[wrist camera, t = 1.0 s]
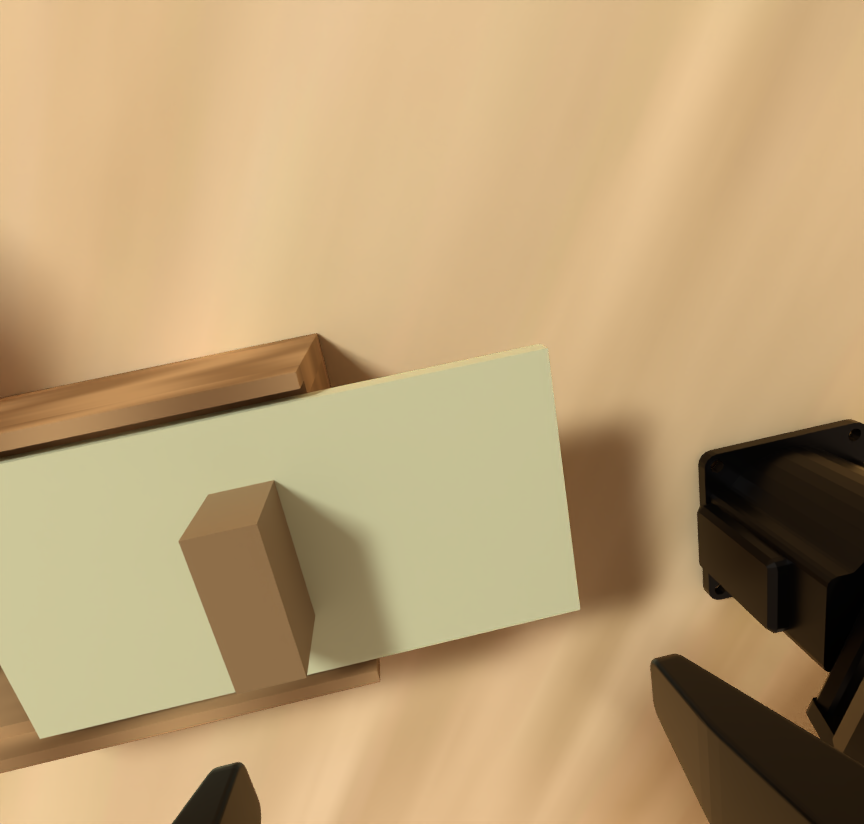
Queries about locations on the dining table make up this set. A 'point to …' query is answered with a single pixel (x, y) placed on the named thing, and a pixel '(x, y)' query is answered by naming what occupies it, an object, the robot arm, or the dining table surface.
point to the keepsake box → (137, 408)
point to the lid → (282, 539)
